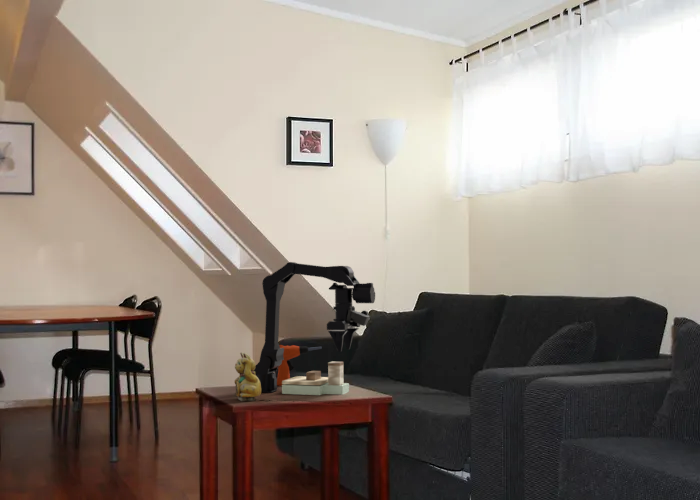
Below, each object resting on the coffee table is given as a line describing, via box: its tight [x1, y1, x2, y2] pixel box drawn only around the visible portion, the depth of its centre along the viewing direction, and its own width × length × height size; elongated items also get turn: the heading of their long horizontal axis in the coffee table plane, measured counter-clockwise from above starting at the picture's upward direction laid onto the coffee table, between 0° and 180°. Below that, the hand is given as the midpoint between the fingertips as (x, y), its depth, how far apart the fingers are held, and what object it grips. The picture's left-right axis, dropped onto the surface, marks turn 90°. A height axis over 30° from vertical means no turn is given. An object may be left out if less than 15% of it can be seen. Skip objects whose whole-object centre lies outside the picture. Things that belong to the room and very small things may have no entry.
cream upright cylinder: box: [327, 360, 345, 386], centre depth 281 cm, size 4×4×10 cm
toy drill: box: [276, 344, 322, 387], centre depth 310 cm, size 5×19×15 cm, turn 92°
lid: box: [282, 370, 328, 385], centre depth 284 cm, size 13×14×4 cm
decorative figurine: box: [234, 352, 262, 402], centre depth 273 cm, size 10×8×15 cm
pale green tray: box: [281, 382, 350, 396], centre depth 283 cm, size 20×14×4 cm
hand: (344, 350), depth 284 cm, fingers open, 9 cm apart
